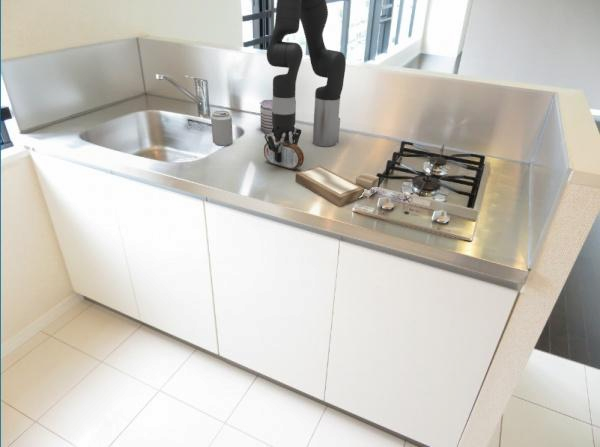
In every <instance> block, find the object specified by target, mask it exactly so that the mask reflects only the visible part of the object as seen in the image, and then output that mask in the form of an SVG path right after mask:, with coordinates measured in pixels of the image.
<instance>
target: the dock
mask: <svg viewBox="0 0 600 447" xmlns="http://www.w3.org/2000/svg"><path fill="white" fill-rule="evenodd" d="M295 182H296V183H297V184H299V185H301V186H302V187H303V188H306V189H308V190H309V191H311V192H313V193H314V194H317V195H318V196H320V197H322V198H323V199H324V200H327V201H329V202H331V204H333V205H334V206H337V207H339V208H340V207H341V206H344V205H347V204H349V203H352V202H356V201H357V200H359V199H358V198H359V197H360V196H361V195H362V193H363V192H364V189H365V188H363V187H361V186H359V185H357V184H356V182H353V181H351V180H349V179H347V178H345V177H343V176H341V175H339V174H337V173H335V172H333V171H331V170H329V169H327V168H325V167H323V166H321V165H318V166H314V167H311V168H308V169H305V170H302V171H297V172H295Z"/></svg>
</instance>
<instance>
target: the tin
mask: <svg viewBox="0 0 600 447" xmlns="http://www.w3.org/2000/svg"><path fill="white" fill-rule="evenodd" d="M273 142H274V140H273ZM278 142H279V141H278ZM263 154H264V157H265V159H266V160H267V161H268V163H270V164H272V165H275V166H279V167H282V168H284V169H288V170H296V169H297V168H300V167H301V166H303V163H304V161H305V158H304V157H305V156H304V152H303V150H302V149H301V147H299V145H298V144H297V145H295V144H292V143H288V142H285V141H284V142H283V146H282V147H281V163H278V162H276V161H275V152H273V151H271V150H269V147H268V144H267V142H266V143H265V144H264V146H263Z"/></svg>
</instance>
